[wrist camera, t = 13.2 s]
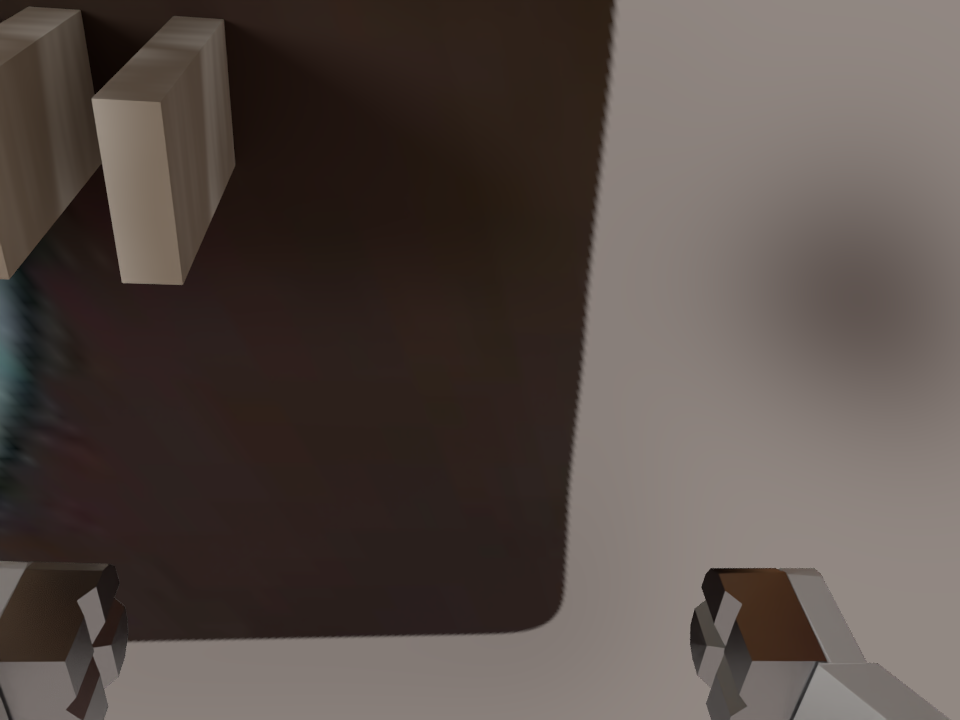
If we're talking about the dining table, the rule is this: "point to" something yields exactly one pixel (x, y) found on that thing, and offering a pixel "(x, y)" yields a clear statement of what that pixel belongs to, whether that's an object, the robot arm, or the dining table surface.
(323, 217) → the dining table surface
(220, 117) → the domino
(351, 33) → the dining table surface
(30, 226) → the domino
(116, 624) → the robot arm
